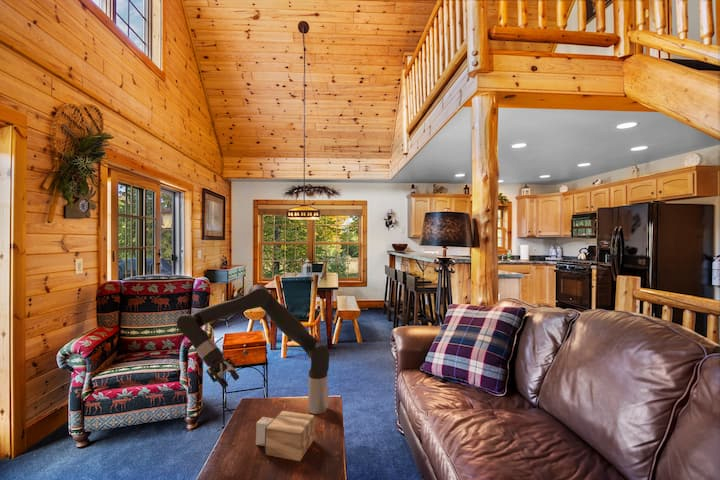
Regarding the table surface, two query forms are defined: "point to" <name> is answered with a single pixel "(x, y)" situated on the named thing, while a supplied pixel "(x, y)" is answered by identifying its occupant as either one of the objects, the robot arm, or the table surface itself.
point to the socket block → (289, 435)
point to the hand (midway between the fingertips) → (232, 382)
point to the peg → (262, 430)
